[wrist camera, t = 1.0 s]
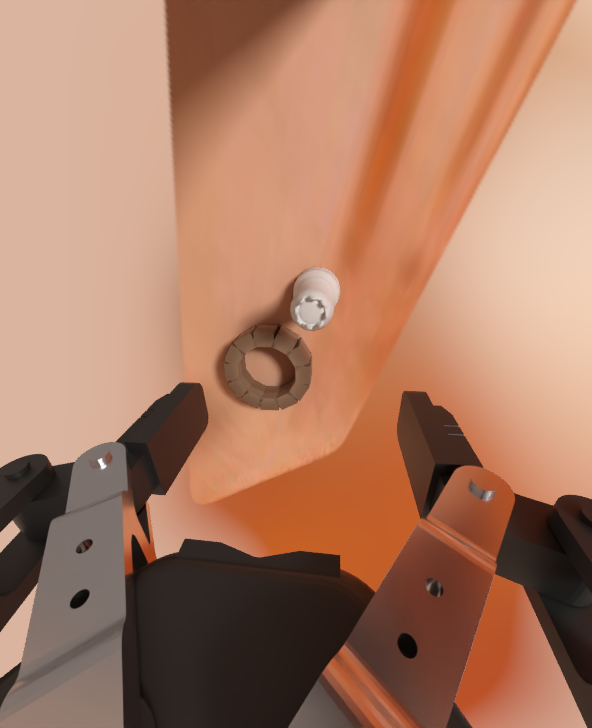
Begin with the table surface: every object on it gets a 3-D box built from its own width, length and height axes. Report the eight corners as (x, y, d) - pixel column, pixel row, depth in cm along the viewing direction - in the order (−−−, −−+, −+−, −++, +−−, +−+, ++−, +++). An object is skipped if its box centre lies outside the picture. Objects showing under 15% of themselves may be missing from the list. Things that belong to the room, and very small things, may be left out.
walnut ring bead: (227, 323, 30) (218, 332, 28) (311, 325, 29) (309, 333, 27) (237, 395, 34) (230, 407, 32) (312, 399, 33) (310, 411, 31)
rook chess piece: (307, 320, 29) (297, 351, 22) (285, 279, 27) (268, 299, 20) (347, 300, 27) (352, 327, 20) (328, 257, 26) (325, 269, 19)
